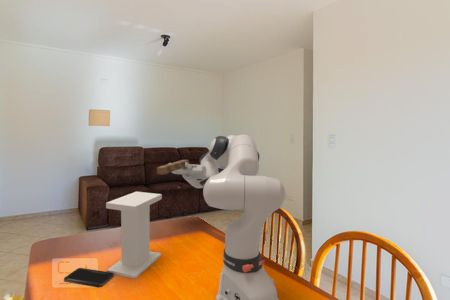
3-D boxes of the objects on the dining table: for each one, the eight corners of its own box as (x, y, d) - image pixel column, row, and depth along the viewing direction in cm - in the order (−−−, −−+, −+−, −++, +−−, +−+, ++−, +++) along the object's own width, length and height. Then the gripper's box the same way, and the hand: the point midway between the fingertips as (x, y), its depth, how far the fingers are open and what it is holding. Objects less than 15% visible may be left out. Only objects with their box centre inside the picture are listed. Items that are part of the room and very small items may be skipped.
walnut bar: (183, 165, 139) (183, 159, 139) (188, 165, 139) (188, 159, 138) (156, 174, 115) (156, 167, 114) (163, 174, 114) (163, 167, 113)
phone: (100, 285, 89) (62, 279, 92) (100, 288, 89) (62, 282, 92) (115, 273, 97) (79, 267, 100) (115, 276, 97) (79, 270, 100)
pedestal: (136, 251, 115) (136, 191, 113) (161, 255, 112) (161, 194, 110) (106, 272, 98) (105, 202, 96) (135, 278, 95) (135, 206, 93)
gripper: (174, 166, 150) (163, 156, 137) (209, 169, 144) (201, 158, 132) (171, 177, 147) (160, 167, 135) (207, 180, 141) (198, 170, 129)
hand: (181, 163), depth 133 cm, fingers closed on walnut bar, 3 cm apart
